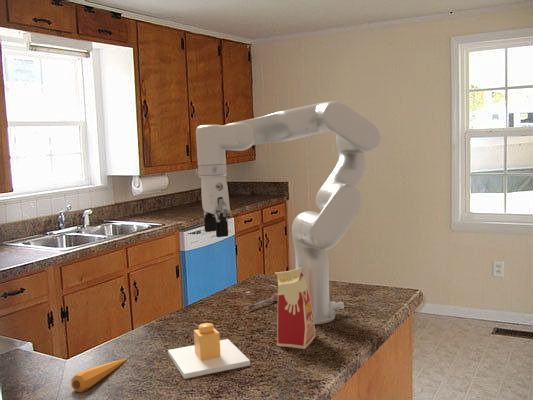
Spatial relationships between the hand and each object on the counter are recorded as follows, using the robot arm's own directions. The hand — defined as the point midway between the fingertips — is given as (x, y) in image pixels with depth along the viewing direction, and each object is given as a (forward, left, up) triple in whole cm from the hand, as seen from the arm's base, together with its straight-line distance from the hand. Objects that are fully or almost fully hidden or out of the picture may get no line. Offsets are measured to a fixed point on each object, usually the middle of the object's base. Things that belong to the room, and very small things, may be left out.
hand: (216, 233), depth 154 cm
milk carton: (-15, +15, -28) cm, 36 cm away
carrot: (+33, +13, -28) cm, 45 cm away
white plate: (+9, +16, -28) cm, 34 cm away
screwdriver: (-24, -19, -28) cm, 42 cm away
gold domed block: (+9, +16, -27) cm, 33 cm away
